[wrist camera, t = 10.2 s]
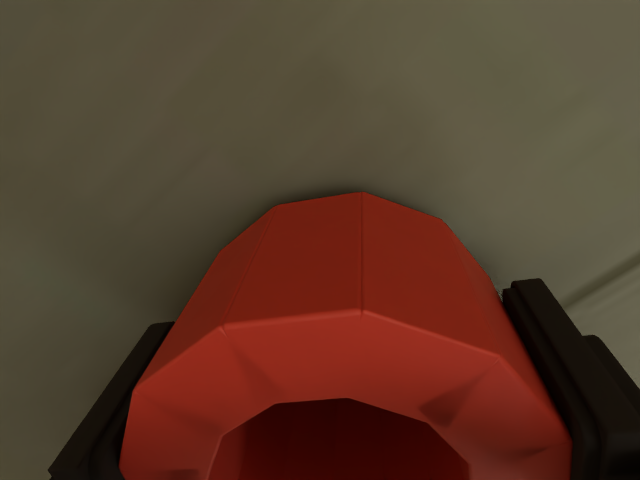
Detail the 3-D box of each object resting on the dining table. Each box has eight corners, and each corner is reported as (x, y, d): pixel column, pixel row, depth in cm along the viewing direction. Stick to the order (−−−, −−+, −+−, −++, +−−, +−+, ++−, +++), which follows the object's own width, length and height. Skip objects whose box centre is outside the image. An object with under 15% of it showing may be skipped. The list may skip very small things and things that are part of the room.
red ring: (248, 435, 13) (199, 613, 9) (169, 220, 10) (44, 345, 6) (495, 417, 12) (563, 612, 8) (486, 170, 9) (587, 284, 5)
